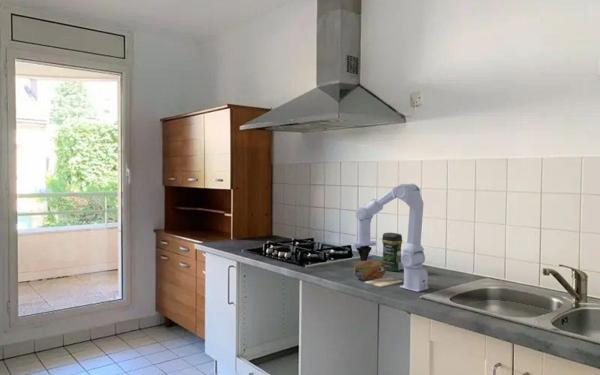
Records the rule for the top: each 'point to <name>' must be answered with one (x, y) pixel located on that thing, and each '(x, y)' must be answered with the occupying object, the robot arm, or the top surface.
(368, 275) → the orange-brown flat oval
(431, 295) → the top surface
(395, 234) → the coffee jar
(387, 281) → the birch board
